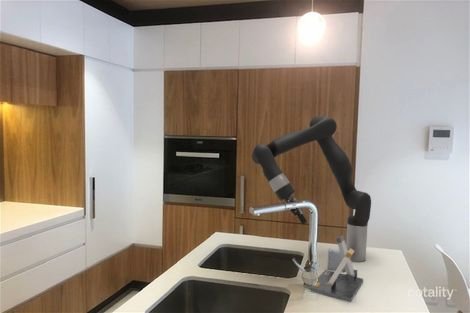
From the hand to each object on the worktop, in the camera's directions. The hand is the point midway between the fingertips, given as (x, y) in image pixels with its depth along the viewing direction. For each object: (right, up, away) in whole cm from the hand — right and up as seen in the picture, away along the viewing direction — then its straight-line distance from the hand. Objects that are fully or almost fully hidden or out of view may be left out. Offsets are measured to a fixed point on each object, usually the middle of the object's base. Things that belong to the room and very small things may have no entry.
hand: (305, 223), depth 144 cm
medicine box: (+17, -24, +16) cm, 34 cm away
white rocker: (+8, -23, -6) cm, 26 cm away
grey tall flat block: (+20, -23, +2) cm, 30 cm away
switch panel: (+12, -25, -1) cm, 28 cm away
